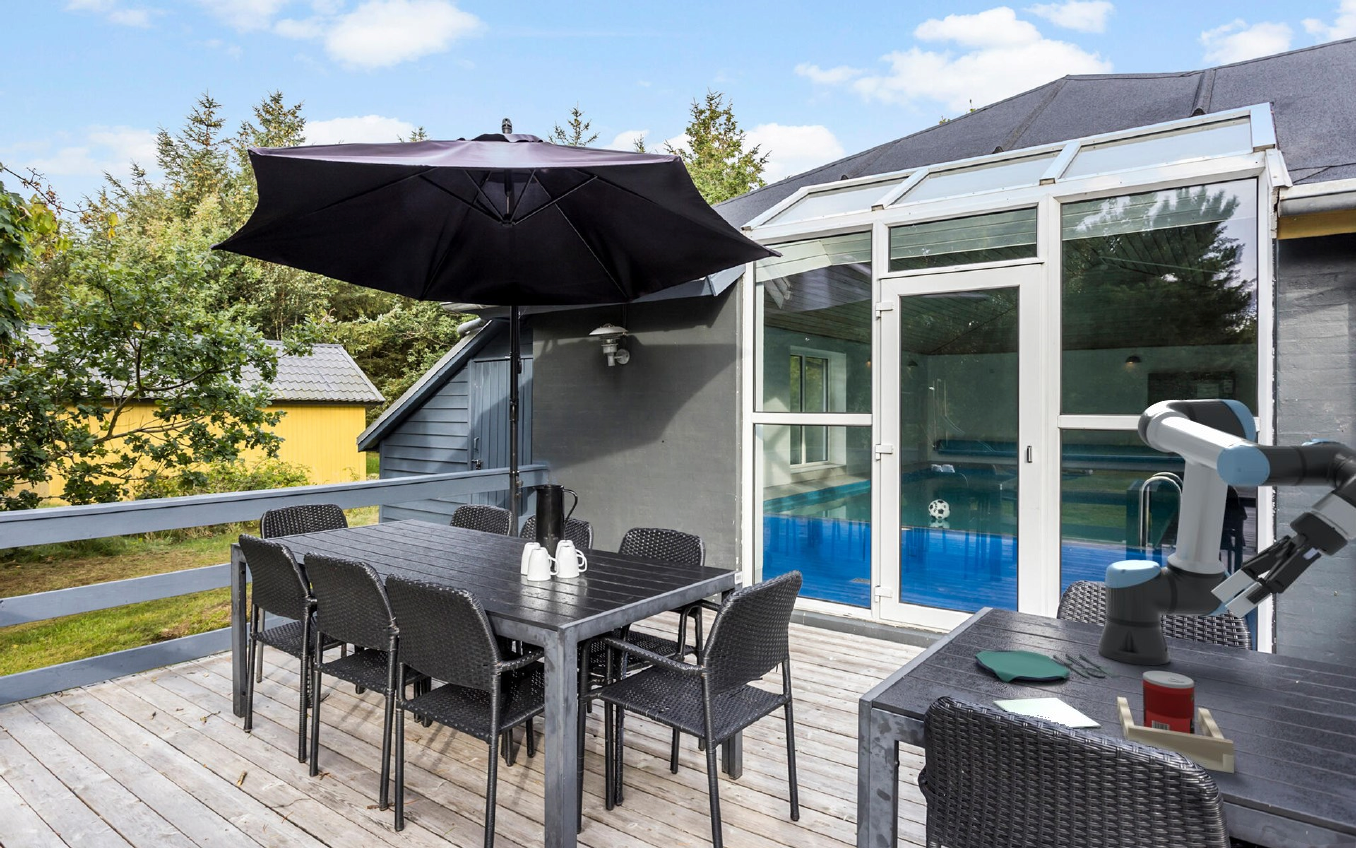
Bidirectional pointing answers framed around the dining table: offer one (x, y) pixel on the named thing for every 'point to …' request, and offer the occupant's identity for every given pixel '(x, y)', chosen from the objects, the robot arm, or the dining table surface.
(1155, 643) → the robot arm
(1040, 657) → the cutlery set
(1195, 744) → the shelf lane
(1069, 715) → the pad
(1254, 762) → the dining table surface
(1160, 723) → the canned food
